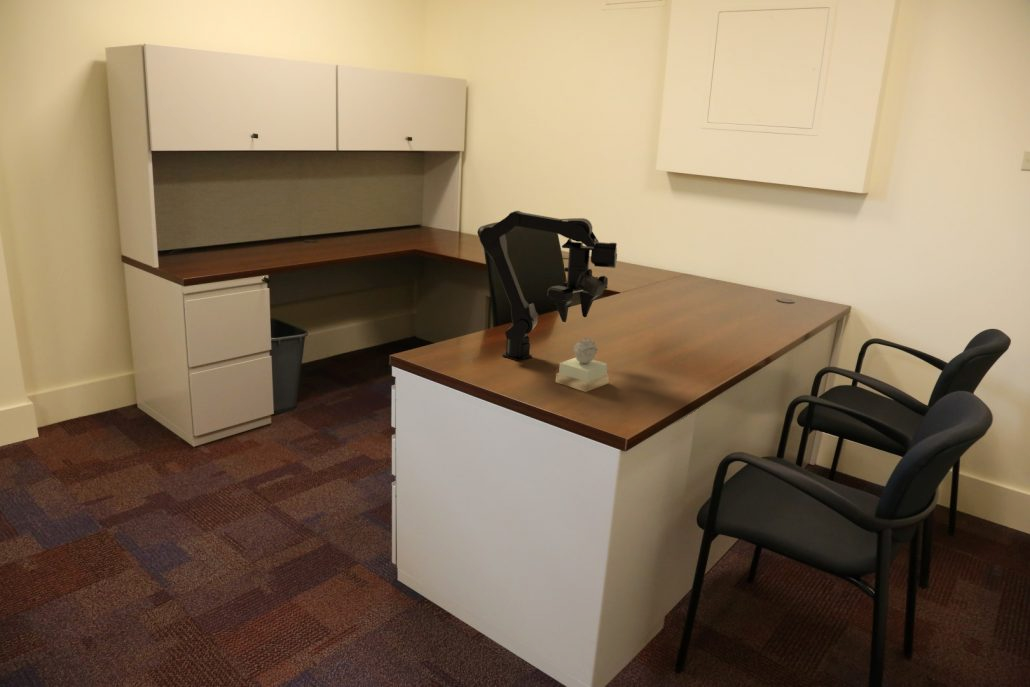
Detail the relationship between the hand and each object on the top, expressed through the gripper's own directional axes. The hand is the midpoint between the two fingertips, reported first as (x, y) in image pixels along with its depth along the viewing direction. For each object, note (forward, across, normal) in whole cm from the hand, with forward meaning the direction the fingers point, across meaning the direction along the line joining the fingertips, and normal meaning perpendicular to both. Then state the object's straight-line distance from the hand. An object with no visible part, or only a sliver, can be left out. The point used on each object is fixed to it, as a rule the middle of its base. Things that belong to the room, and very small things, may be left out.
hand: (574, 319), depth 204 cm
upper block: (+11, -11, -13) cm, 20 cm away
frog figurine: (+8, -11, -13) cm, 18 cm away
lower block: (+14, -11, -12) cm, 21 cm away
